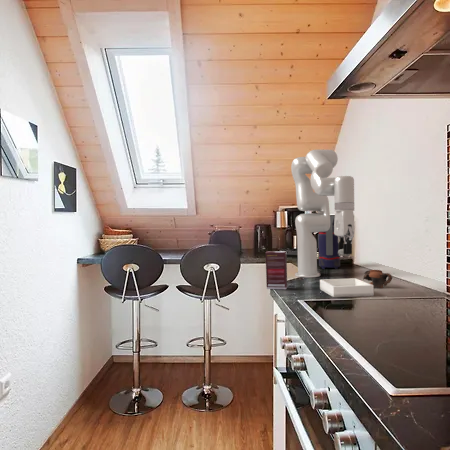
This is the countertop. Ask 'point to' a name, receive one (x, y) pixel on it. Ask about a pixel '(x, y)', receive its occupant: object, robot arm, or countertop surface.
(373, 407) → the countertop surface
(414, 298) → the countertop surface
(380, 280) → the brown two-tone ridged part
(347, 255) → the figurine
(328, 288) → the bin
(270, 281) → the supplement box
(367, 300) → the countertop surface
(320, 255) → the navy blue canister
